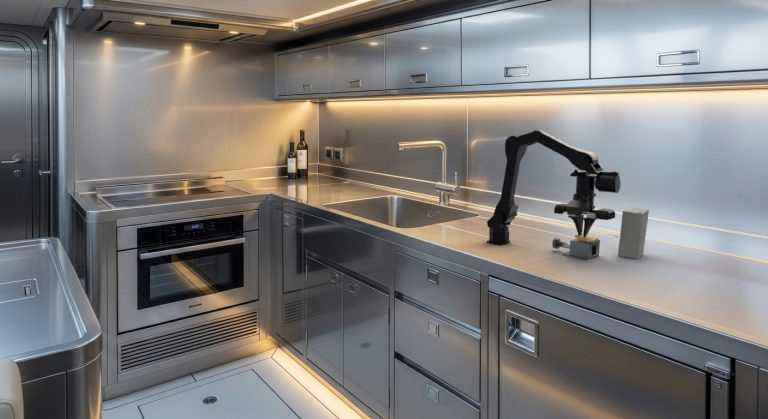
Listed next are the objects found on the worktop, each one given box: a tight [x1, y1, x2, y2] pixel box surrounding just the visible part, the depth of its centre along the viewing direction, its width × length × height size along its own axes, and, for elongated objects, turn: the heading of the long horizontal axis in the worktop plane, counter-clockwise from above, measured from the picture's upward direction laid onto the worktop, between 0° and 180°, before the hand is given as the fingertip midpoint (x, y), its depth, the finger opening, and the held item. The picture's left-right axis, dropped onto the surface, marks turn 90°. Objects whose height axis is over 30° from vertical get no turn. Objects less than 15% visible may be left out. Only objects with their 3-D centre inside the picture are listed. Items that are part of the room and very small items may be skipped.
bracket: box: [561, 236, 601, 261], centre depth 179 cm, size 9×8×6 cm
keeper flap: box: [574, 233, 599, 243], centre depth 177 cm, size 6×4×1 cm
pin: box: [551, 237, 570, 250], centre depth 182 cm, size 11×4×4 cm, turn 44°
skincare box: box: [617, 206, 650, 260], centre depth 178 cm, size 8×7×16 cm
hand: (582, 236), depth 178 cm, fingers closed, pressing on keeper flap
